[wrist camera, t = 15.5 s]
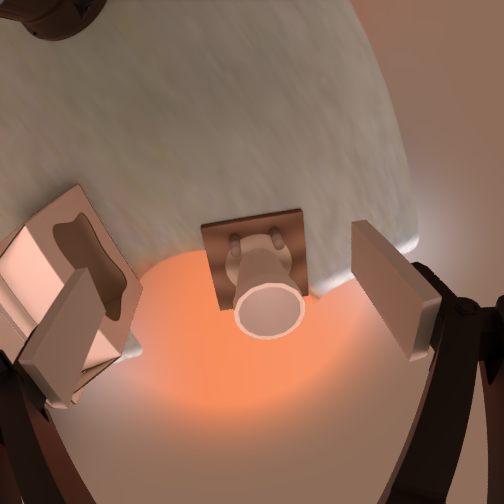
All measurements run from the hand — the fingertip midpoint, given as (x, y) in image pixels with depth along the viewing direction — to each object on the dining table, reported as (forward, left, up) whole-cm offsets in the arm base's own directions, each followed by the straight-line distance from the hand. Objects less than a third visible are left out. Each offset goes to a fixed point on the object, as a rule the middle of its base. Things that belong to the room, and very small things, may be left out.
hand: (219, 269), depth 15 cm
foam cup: (+19, +3, -33) cm, 38 cm away
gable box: (+12, -27, -35) cm, 46 cm away
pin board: (+19, +3, -35) cm, 40 cm away
